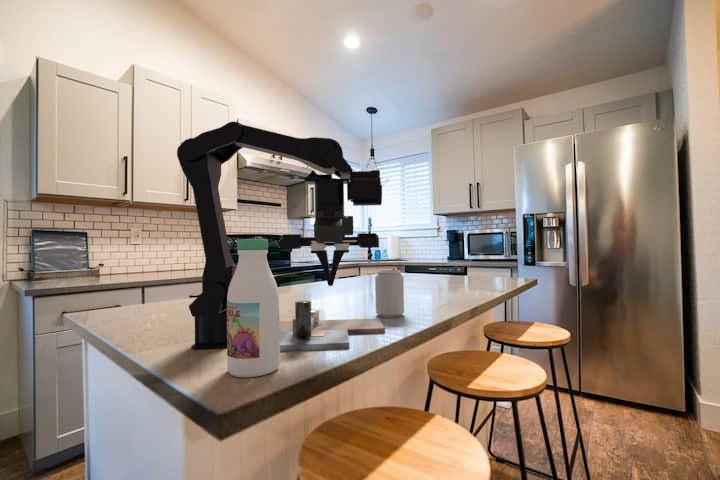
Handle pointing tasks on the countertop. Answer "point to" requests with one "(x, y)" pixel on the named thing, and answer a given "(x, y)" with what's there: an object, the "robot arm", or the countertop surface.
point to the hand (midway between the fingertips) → (330, 285)
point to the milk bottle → (253, 313)
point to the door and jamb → (327, 333)
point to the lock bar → (305, 318)
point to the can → (389, 293)
